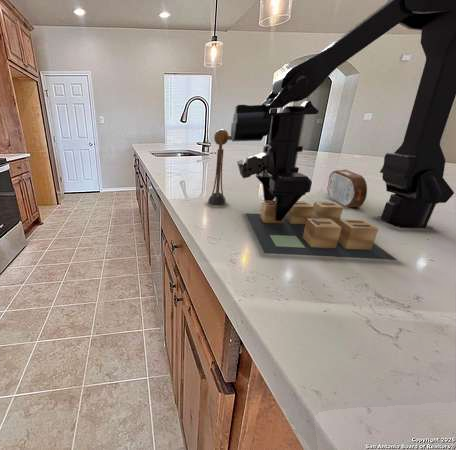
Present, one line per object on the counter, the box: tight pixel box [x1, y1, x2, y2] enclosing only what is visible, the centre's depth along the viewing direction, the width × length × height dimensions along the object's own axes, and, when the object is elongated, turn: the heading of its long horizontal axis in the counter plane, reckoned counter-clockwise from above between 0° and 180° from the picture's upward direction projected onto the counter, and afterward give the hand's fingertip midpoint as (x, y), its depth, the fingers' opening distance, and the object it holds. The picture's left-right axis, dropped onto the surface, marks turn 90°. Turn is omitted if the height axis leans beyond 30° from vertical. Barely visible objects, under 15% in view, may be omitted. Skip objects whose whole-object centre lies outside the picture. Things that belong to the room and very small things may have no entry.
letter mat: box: [245, 212, 398, 261], centre depth 49 cm, size 20×20×1 cm
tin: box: [327, 169, 368, 208], centre depth 65 cm, size 15×3×8 cm, turn 168°
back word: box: [285, 200, 344, 224], centre depth 53 cm, size 10×4×4 cm, turn 80°
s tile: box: [259, 199, 284, 223], centre depth 55 cm, size 4×4×4 cm
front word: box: [303, 218, 379, 250], centre depth 43 cm, size 10×4×4 cm, turn 80°
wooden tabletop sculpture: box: [207, 128, 232, 206], centre depth 65 cm, size 6×5×20 cm
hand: (272, 213), depth 55 cm, fingers open, 9 cm apart
